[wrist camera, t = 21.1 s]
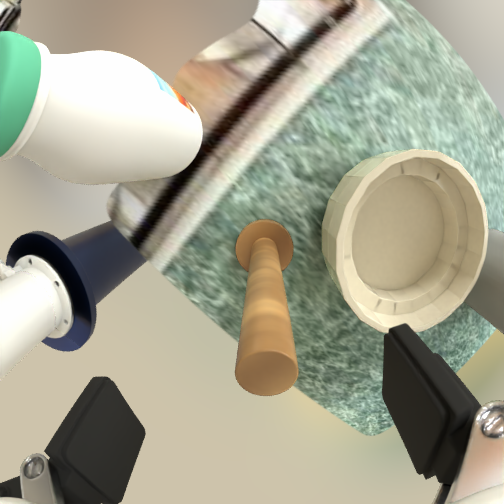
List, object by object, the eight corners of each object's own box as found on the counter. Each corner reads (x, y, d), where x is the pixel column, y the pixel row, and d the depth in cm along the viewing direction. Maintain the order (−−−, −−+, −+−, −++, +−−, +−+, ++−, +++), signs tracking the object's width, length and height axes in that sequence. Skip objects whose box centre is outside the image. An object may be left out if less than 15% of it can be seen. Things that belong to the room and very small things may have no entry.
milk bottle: (220, 146, 23) (85, 73, 4) (151, 194, 25) (-41, 259, 5) (177, 81, 22) (33, -40, 2) (112, 131, 23) (-73, 111, 4)
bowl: (287, 256, 26) (294, 281, 20) (375, 120, 22) (404, 108, 16) (398, 326, 28) (421, 356, 22) (472, 213, 24) (507, 225, 18)
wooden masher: (226, 254, 26) (173, 385, 9) (255, 208, 25) (240, 283, 8) (272, 282, 27) (283, 432, 10) (302, 237, 25) (367, 352, 9)
